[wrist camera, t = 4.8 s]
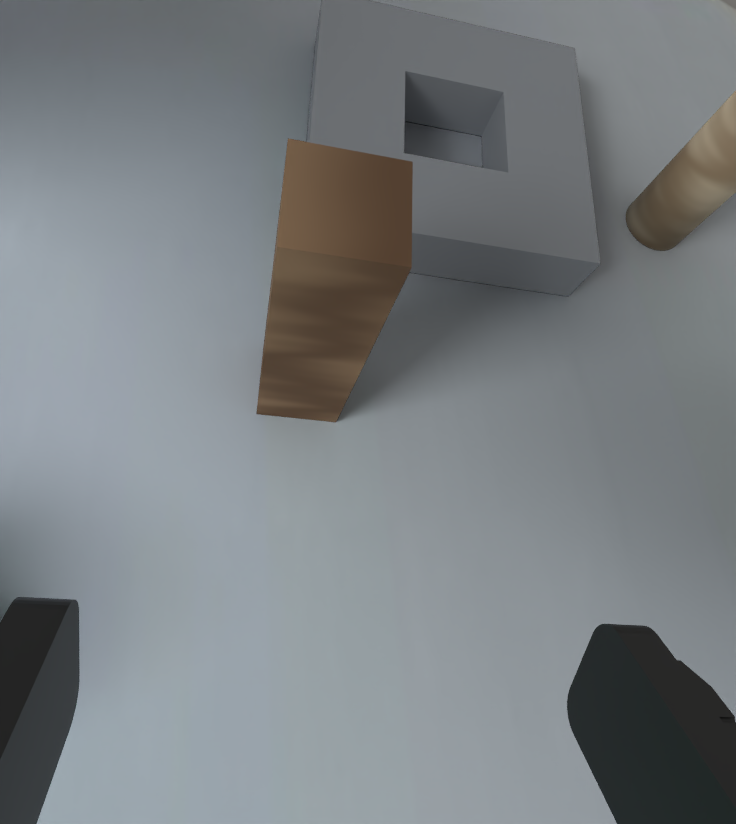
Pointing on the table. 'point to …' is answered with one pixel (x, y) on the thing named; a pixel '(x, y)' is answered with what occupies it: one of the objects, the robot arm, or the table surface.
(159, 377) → the table surface
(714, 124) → the beech dowel
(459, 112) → the bore plate
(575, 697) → the robot arm
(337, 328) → the walnut bar
